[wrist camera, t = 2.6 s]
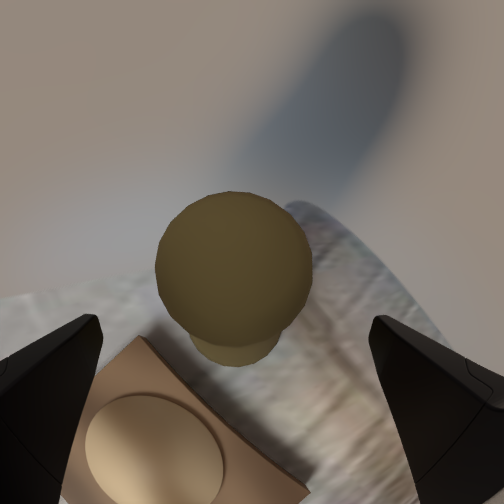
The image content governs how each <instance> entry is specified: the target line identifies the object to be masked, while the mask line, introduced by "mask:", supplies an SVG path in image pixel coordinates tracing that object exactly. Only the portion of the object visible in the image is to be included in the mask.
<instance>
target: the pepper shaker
mask: <svg viewBox="0 0 504 504" xmlns="http://www.w3.org/2000/svg"><path fill="white" fill-rule="evenodd" d="M155 273H156V280H157V286H158V293H159V296H160V298H161V300H162V301H163V303H164V305H165V307H166V309H167V311H168V313H169V314H170V316H171V317H172V318H173V319H174V320H175V321H176V322H177V323H178V324H179V325H181V326H182V327H183V328H184V329H185V330H186V331H187V332H188V333H189V335H190V338H191V340H192V341H193V343H194V345H195V346H196V348H197V350H198V351H200V352H201V353H202V354H203V355H204V356H205V357H206V358H208V359H209V360H211V361H213V362H215V363H218V364H220V365H223V366H231V367H242V366H246V365H250V364H254V363H256V362H257V361H259V360H260V359H262V358H264V357H265V356H267V355H268V354H269V352H270V351H271V350H272V349H273V348H274V346H275V345H276V344H277V342H278V339H279V336H280V334H281V331H282V330H284V329H286V328H287V327H288V326H289V325H290V324H291V323H292V321H293V320H294V319H295V318H296V316H297V315H298V314H299V312H300V311H301V310H302V308H303V307H304V306H305V303H306V300H307V297H308V294H309V291H310V288H311V285H312V252H311V249H310V247H309V244H308V241H307V238H306V236H305V233H304V231H303V230H302V229H301V227H300V226H299V225H298V223H297V222H296V221H295V220H294V218H293V217H292V216H291V214H289V213H288V212H286V211H285V210H284V209H282V208H281V207H279V206H278V205H277V204H275V203H274V202H272V201H271V200H269V199H266V198H263V197H261V196H258V195H255V194H252V193H245V192H231V191H228V192H223V193H218V194H213V195H208V196H206V197H204V198H202V199H200V200H198V201H196V202H194V203H192V204H190V205H189V206H187V207H186V208H185V209H184V210H183V211H182V212H181V213H180V214H179V215H178V216H177V217H176V218H174V219H173V220H172V221H171V222H170V224H169V226H168V227H167V229H166V231H165V233H164V235H163V236H162V238H161V240H160V242H159V246H158V251H157V256H156V262H155Z"/></svg>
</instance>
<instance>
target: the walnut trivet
mask: <svg viewBox="0 0 504 504" xmlns="http://www.w3.org/2000/svg"><path fill="white" fill-rule="evenodd" d="M310 493H311V492H310V491H309V490H308V488H307V487H306V485H305V484H303V483H302V482H301V481H299V480H298V479H296V478H295V477H294V476H292V475H291V474H289V473H288V472H287V471H285V470H284V469H283V468H281V467H280V466H279V465H278V464H276V463H275V462H274V461H272V460H271V459H270V458H269V457H267V456H266V455H265V454H264V453H262V452H261V451H260V450H259V449H257V448H256V447H255V446H254V445H253V444H251V443H250V442H249V441H248V440H247V439H245V438H244V437H243V436H242V435H241V434H240V433H239V432H237V431H236V430H235V429H234V428H233V427H232V426H231V425H229V424H228V423H227V422H226V421H225V420H224V419H223V418H222V417H221V416H220V415H219V414H217V413H216V412H215V411H214V410H213V409H212V408H211V407H210V406H209V405H208V404H207V403H206V402H205V401H204V400H203V399H202V398H201V397H200V396H199V395H198V394H197V393H196V392H195V391H194V390H193V389H192V388H191V387H190V386H189V385H188V384H187V383H186V382H185V381H184V380H183V379H182V378H181V377H180V376H179V375H178V374H177V373H176V372H175V371H174V369H173V368H172V367H171V366H170V365H169V364H168V363H167V362H166V361H165V360H164V359H163V357H162V356H161V355H160V354H159V353H158V352H157V351H156V350H155V348H154V347H153V346H152V345H151V344H150V343H149V342H148V340H147V339H146V338H144V337H142V336H139V335H138V336H137V337H136V338H135V339H134V340H133V341H132V342H131V343H130V344H129V345H128V346H127V347H126V348H124V349H123V350H122V351H121V352H120V353H119V354H118V355H117V356H116V357H115V358H114V359H113V360H112V361H111V362H110V363H108V364H107V365H106V366H105V367H104V368H103V369H102V370H101V371H100V372H99V373H98V374H97V375H96V376H95V377H94V379H93V382H92V385H91V388H90V391H89V394H88V397H87V400H86V403H85V406H84V409H83V412H82V415H81V418H80V421H79V425H78V428H77V431H76V435H75V438H74V441H73V445H72V449H71V452H70V456H69V460H68V464H67V468H66V472H65V476H64V480H63V484H62V490H61V494H60V495H61V496H62V497H63V498H64V499H65V500H66V501H67V502H68V503H69V504H298V503H300V502H301V501H302V500H303V499H304V498H305V497H306V496H307V495H309V494H310Z"/></svg>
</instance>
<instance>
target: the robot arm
mask: <svg viewBox="0 0 504 504" xmlns="http://www.w3.org/2000/svg"><path fill="white" fill-rule="evenodd" d="M102 344H103V333H102V330H101V326H100V323H99V319H98V317H97V316H96V315H94V314H84V315H82V316H80V317H78V318H77V319H75V320H73V321H71V322H69V323H67V324H66V325H64V326H62V327H60V328H58V329H56V330H55V331H53V332H51V333H49V334H47V335H46V336H44V337H42V338H40V339H38V340H37V341H35V342H33V343H31V344H30V345H28V346H26V347H24V348H22V349H21V350H19V351H17V352H15V353H14V354H12V355H10V356H9V357H6V358H5V359H3V360H1V361H0V504H59V499H60V494H61V490H62V484H63V480H64V476H65V472H66V468H67V464H68V460H69V456H70V452H71V449H72V445H73V441H74V438H75V435H76V431H77V428H78V425H79V421H80V418H81V415H82V412H83V409H84V406H85V403H86V400H87V397H88V394H89V391H90V388H91V385H92V382H93V379H94V376H95V372H96V367H97V363H98V359H99V355H100V351H101V348H102ZM369 345H370V349H371V352H372V356H373V360H374V363H375V367H376V371H377V375H378V378H379V381H380V384H381V386H382V389H383V392H384V394H385V397H386V400H387V402H388V405H389V408H390V410H391V413H392V416H393V419H394V422H395V424H396V427H397V430H398V433H399V436H400V439H401V442H402V445H403V448H404V451H405V454H406V457H407V460H408V463H409V466H410V469H411V473H412V476H413V479H414V483H415V487H416V490H417V493H418V497H419V500H420V504H504V377H503V376H501V375H499V374H497V373H495V372H492V371H490V370H488V369H486V368H484V367H482V366H480V365H478V364H476V363H475V362H473V361H471V360H469V359H467V358H465V357H463V356H461V355H460V354H458V353H456V352H454V351H452V350H451V349H449V348H447V347H445V346H443V345H441V344H439V343H438V342H436V341H434V340H432V339H430V338H428V337H427V336H425V335H423V334H421V333H419V332H417V331H415V330H414V329H412V328H410V327H408V326H406V325H404V324H402V323H401V322H399V321H397V320H395V319H393V318H391V317H389V316H387V315H379V316H376V317H375V318H374V319H373V323H372V326H371V330H370V333H369Z"/></svg>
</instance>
